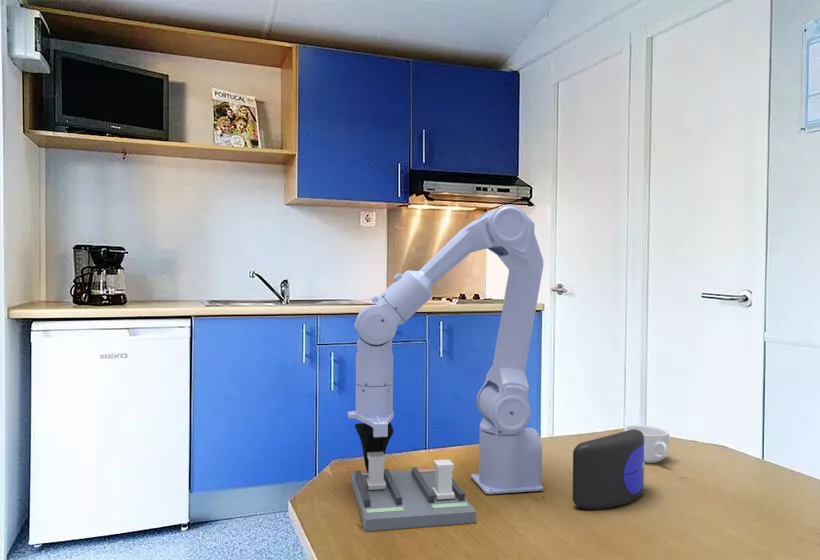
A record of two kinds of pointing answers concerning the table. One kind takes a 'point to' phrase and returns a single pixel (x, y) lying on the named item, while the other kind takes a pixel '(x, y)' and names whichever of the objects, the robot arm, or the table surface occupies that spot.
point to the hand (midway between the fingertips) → (373, 471)
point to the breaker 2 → (443, 479)
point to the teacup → (653, 442)
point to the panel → (409, 501)
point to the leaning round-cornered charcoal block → (609, 470)
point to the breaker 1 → (376, 471)
